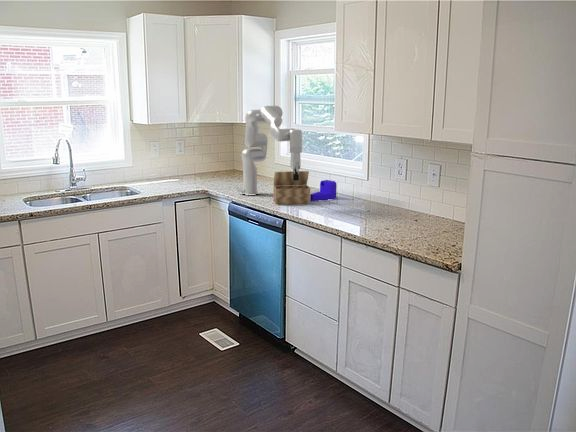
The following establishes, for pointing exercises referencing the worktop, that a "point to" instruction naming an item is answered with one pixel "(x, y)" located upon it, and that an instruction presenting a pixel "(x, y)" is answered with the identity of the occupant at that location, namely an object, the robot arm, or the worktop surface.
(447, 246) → the worktop surface
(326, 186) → the bracket
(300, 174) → the lid flap
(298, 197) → the open wooden box
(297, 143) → the robot arm
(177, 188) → the worktop surface
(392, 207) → the worktop surface
